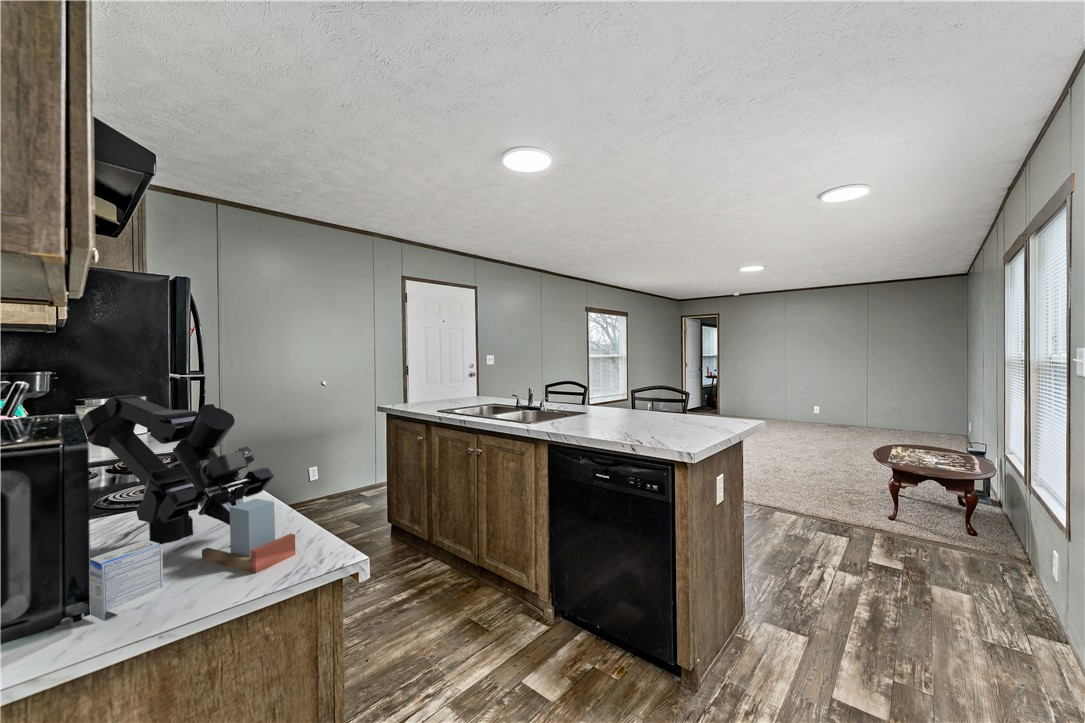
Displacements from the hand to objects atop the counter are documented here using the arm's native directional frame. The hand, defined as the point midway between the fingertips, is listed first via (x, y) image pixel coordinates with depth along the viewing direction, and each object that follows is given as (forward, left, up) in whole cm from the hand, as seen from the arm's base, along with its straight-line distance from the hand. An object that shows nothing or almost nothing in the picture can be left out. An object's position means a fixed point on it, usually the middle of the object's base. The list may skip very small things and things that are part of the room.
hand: (242, 527), depth 87 cm
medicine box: (-16, -4, -7) cm, 18 cm away
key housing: (+1, -1, -7) cm, 7 cm away
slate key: (+1, -3, -5) cm, 6 cm away
